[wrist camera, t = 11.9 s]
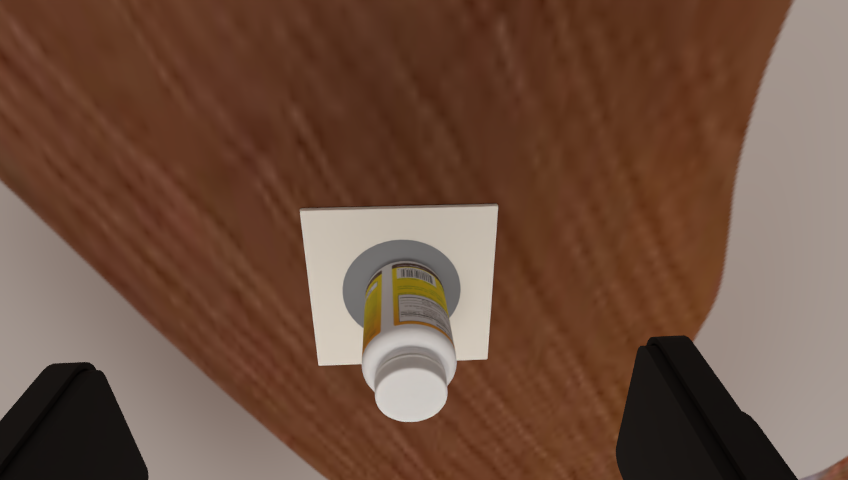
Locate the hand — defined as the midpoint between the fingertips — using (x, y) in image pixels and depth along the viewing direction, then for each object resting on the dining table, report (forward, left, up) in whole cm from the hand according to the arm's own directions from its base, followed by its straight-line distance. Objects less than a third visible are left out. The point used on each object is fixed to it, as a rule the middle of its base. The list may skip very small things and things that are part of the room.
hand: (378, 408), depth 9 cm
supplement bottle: (-1, +13, -25) cm, 28 cm away
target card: (-1, +14, -25) cm, 28 cm away
